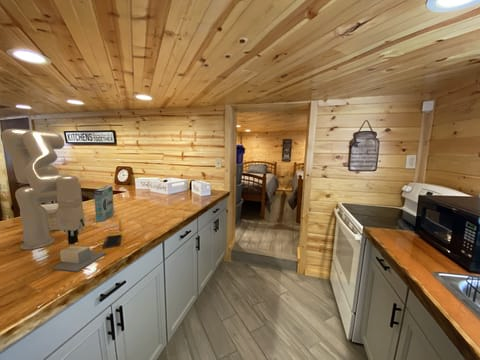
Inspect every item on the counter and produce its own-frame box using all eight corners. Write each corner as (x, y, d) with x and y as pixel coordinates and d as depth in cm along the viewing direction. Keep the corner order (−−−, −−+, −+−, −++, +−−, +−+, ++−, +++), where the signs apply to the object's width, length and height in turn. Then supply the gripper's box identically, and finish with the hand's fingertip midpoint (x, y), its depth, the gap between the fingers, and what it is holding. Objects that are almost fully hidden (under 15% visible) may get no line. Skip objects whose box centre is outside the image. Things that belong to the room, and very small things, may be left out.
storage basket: (21, 236, 114) (18, 211, 112) (30, 227, 127) (28, 205, 125) (74, 228, 127) (72, 206, 125) (78, 221, 140) (76, 201, 138)
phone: (102, 247, 100) (106, 236, 113) (102, 249, 100) (106, 238, 113) (120, 244, 104) (122, 234, 117) (120, 246, 104) (122, 236, 117)
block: (59, 251, 86) (79, 252, 85) (70, 245, 91) (89, 247, 90) (61, 261, 87) (80, 263, 86) (71, 255, 92) (90, 257, 91)
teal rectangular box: (107, 214, 157) (105, 186, 154) (114, 213, 158) (112, 185, 155) (95, 222, 138) (93, 190, 135) (103, 221, 139) (101, 190, 136)
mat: (52, 269, 82) (51, 268, 82) (84, 252, 97) (84, 250, 97) (77, 272, 81) (77, 270, 81) (106, 253, 95) (106, 252, 95)
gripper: (45, 205, 83) (49, 245, 85) (76, 207, 81) (80, 248, 84) (63, 201, 90) (66, 238, 93) (92, 202, 89) (95, 240, 91)
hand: (73, 243), depth 88 cm, fingers closed
